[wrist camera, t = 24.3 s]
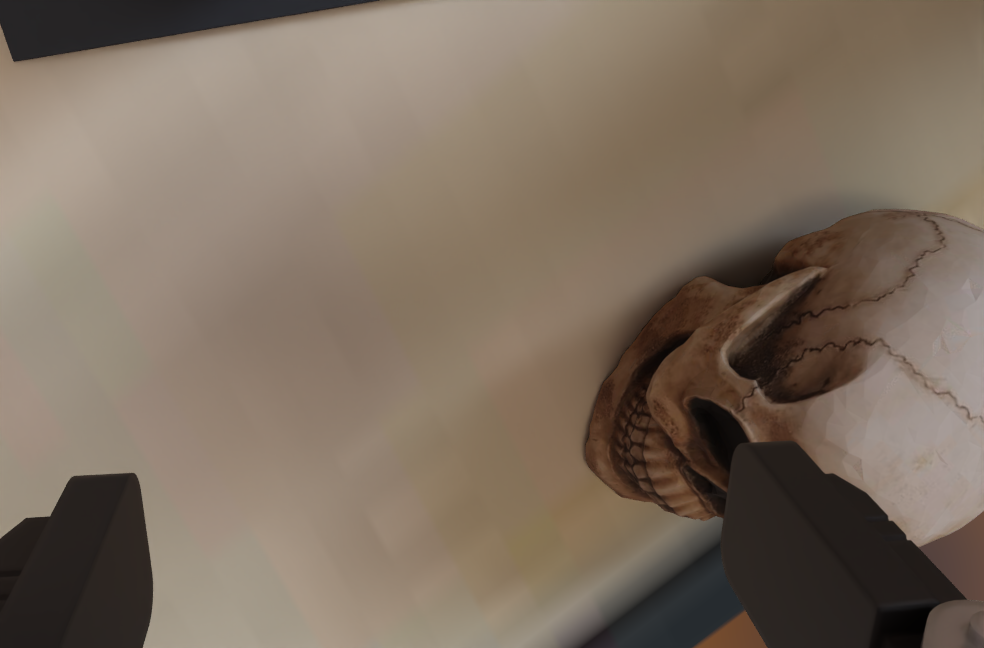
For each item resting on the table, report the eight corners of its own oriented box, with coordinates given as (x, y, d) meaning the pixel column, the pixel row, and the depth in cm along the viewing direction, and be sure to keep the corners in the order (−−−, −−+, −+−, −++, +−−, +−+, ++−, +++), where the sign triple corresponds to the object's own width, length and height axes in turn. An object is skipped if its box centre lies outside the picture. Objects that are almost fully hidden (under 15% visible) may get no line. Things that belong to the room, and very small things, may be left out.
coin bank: (566, 487, 46) (671, 654, 33) (667, 141, 42) (829, 183, 29) (835, 526, 50) (1019, 688, 37) (951, 215, 46) (1199, 279, 33)
